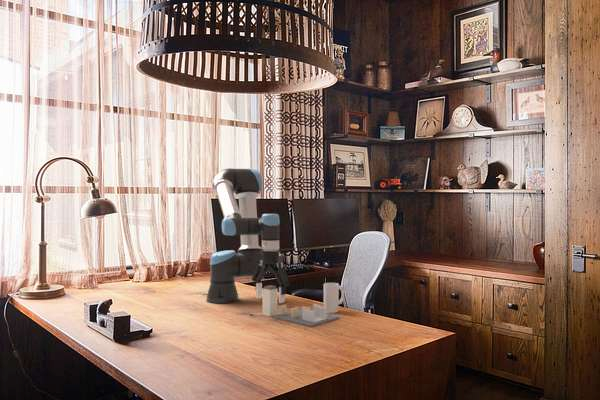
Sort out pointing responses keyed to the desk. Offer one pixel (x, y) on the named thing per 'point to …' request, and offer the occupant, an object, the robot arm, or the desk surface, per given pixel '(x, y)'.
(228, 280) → the robot arm
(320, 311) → the board
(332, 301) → the mug
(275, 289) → the block
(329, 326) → the desk surface
